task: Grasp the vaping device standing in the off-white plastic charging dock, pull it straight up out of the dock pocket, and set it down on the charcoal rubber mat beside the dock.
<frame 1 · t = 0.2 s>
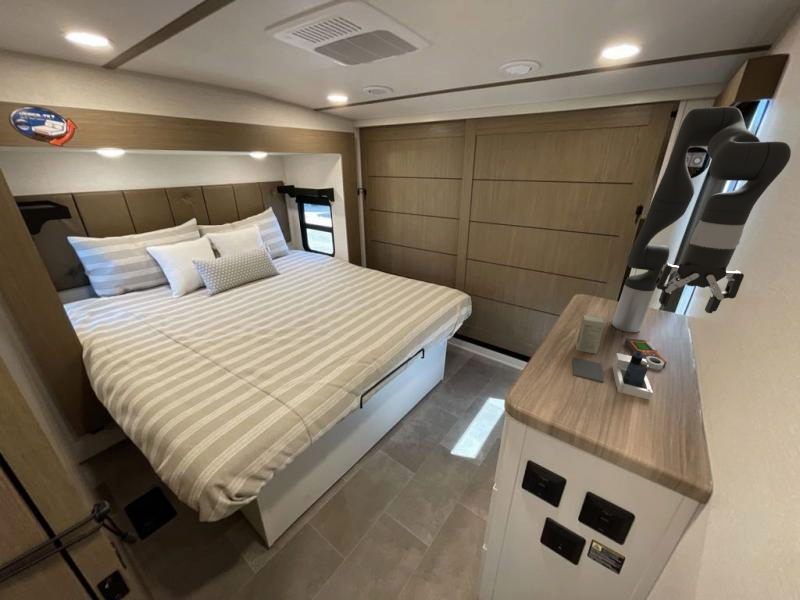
hand: (684, 308, 74), 27 cm above the dresser top, fingers open, 8 cm apart
skincare box: (585, 349, 107), on the dresser top
mat: (587, 369, 96), on the dresser top
dock: (630, 385, 89), on the dresser top
electronic device: (644, 357, 103), on the dresser top
vaping device: (630, 386, 90), resting in dock
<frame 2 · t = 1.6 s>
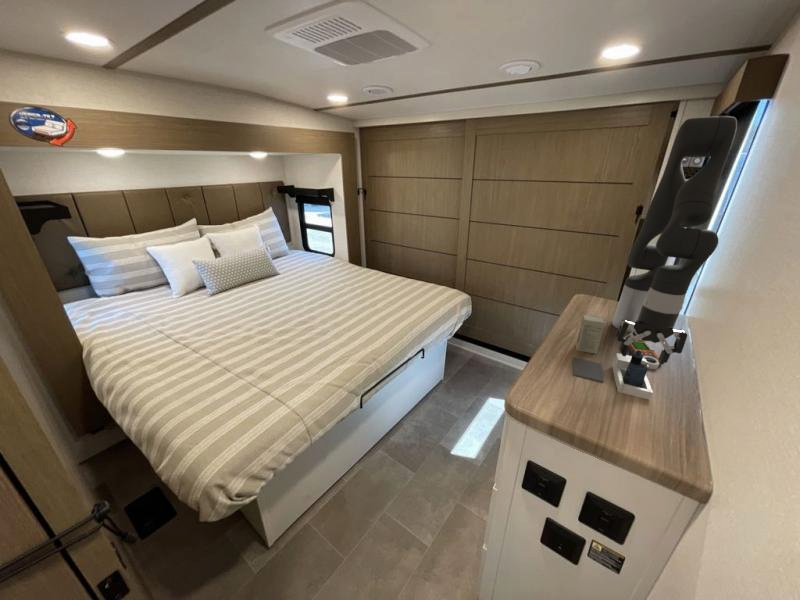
hand: (641, 358, 85), 10 cm above the dresser top, fingers open, 8 cm apart
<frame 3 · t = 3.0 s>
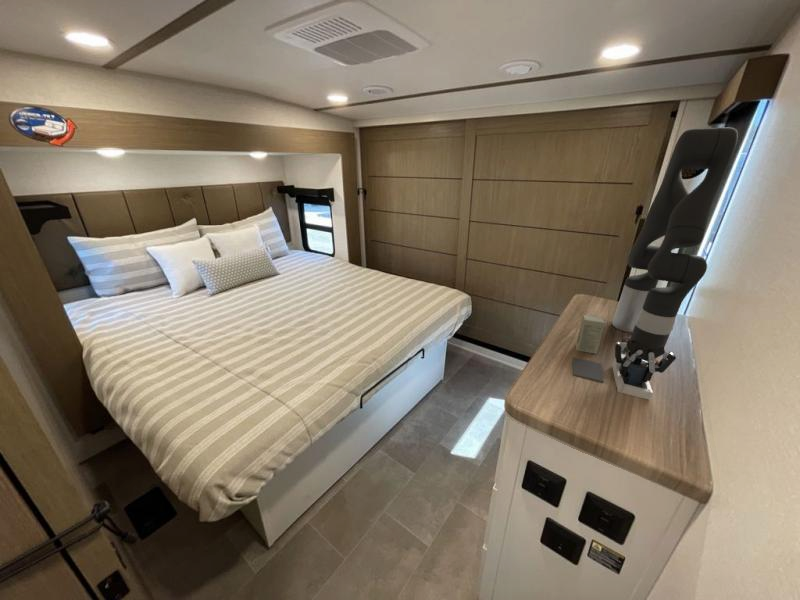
hand: (633, 377, 88), 3 cm above the dresser top, fingers closed on vaping device, 4 cm apart
vaping device: (630, 386, 90), resting in dock, touching gripper
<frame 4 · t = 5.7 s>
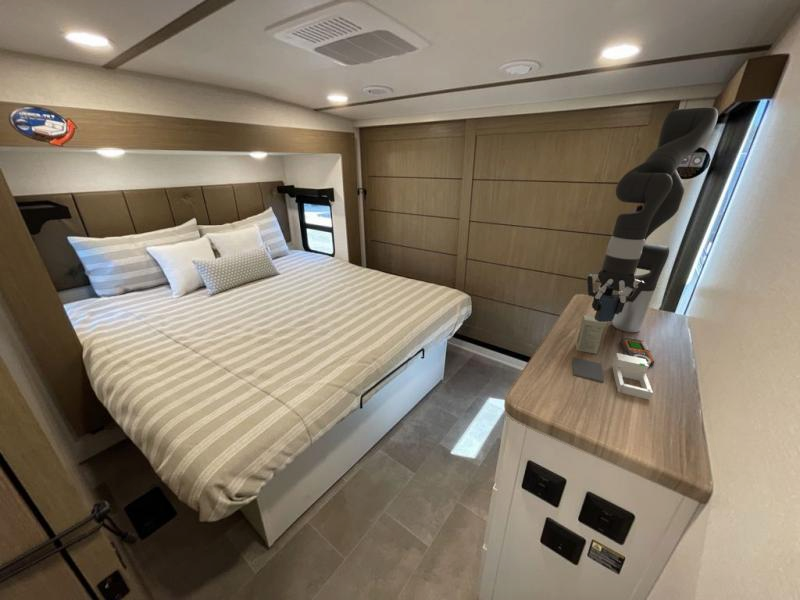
hand: (605, 311, 88), 21 cm above the dresser top, fingers closed on vaping device, 4 cm apart
vaping device: (603, 320, 89), point 18 cm above the dresser top, touching gripper
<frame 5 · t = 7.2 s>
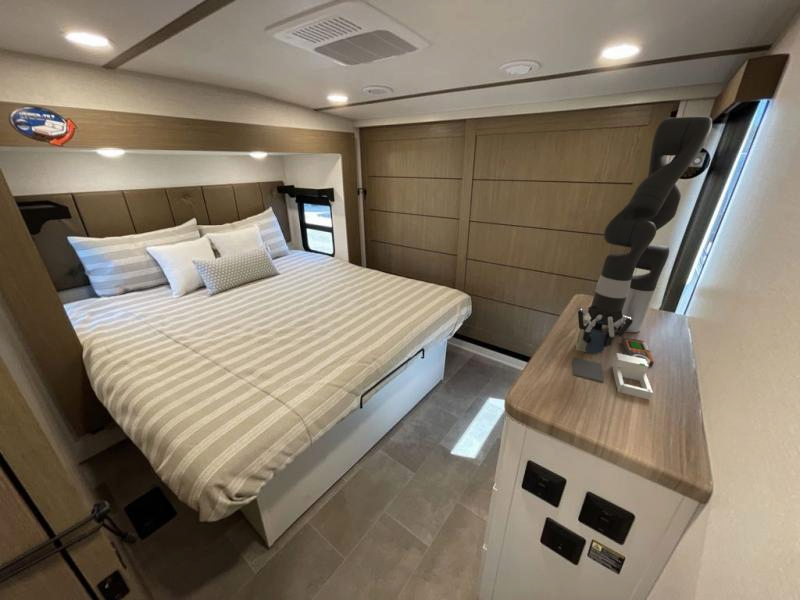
hand: (595, 343, 92), 10 cm above the dresser top, fingers closed on vaping device, 4 cm apart
vaping device: (593, 351, 94), point 7 cm above the dresser top, touching gripper
when the fingers open (4 cm above the dresser top, at t = 8.6 s): vaping device stays where it is, resting on mat.
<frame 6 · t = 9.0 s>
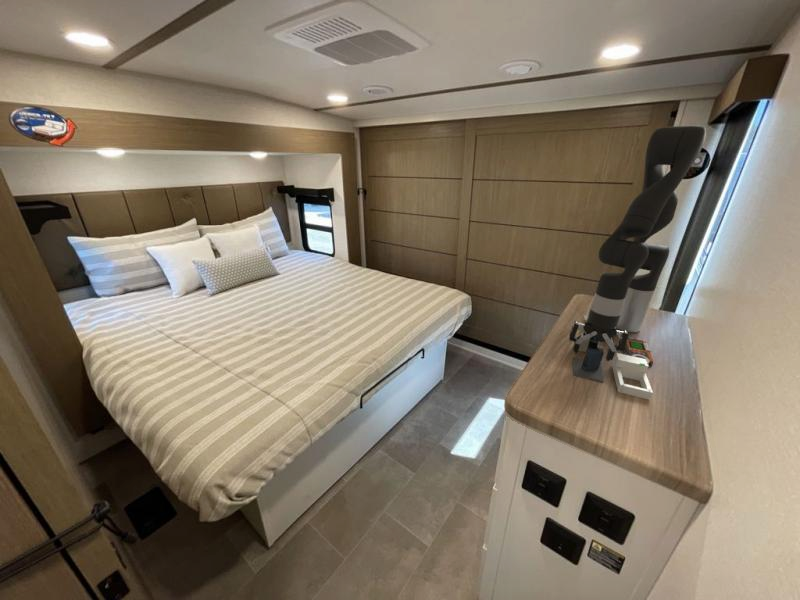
hand: (591, 356, 94), 5 cm above the dresser top, fingers open, 8 cm apart
electronic device: (635, 356, 104), on the dresser top, touching dock
vaping device: (589, 369, 96), resting on mat
everything else where it was.
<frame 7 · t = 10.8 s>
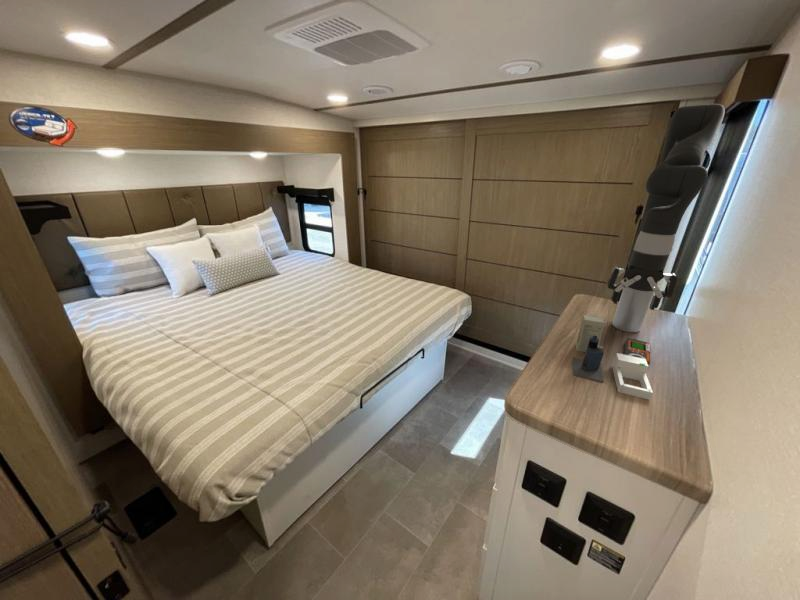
hand: (632, 305, 86), 23 cm above the dresser top, fingers open, 8 cm apart
electronic device: (635, 356, 104), on the dresser top
everything else where it was.
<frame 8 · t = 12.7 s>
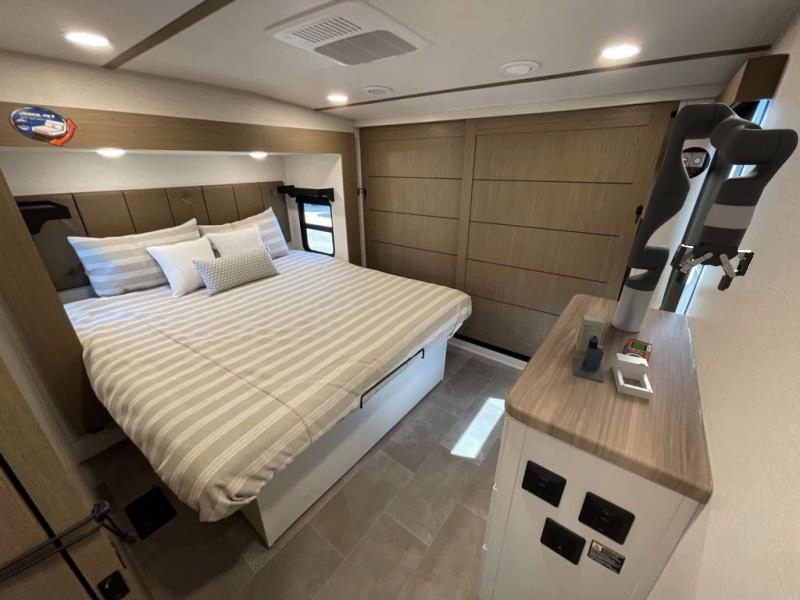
hand: (698, 287, 79), 30 cm above the dresser top, fingers open, 8 cm apart
nothing on the dresser top moved.
at the end: vaping device 0.6 cm from the mat (horizontally); vaping device touching mat; the gripper is holding nothing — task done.
